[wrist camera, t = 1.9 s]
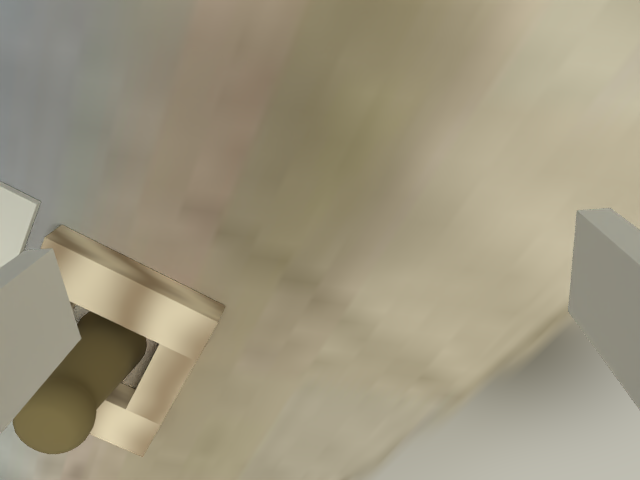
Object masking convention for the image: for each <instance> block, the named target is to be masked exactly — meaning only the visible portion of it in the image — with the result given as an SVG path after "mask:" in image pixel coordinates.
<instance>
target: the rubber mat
mask: <svg viewBox="0 0 640 480" xmlns="http://www.w3.org/2000/svg"><path fill="white" fill-rule="evenodd" d="M40 203H41V202H40V201H38V200H36V199H34V198H32V197H30V196H28V195H26V194H24V193H22V192H20V191H18V190H16V189H14V188H12V187H10V186H8V185H6V184H4V183H2V182H0V268H1V267H2V266H4V265H5V264H6V263H8V262H9V261H11V260H12V259H13V258H15V257H16V256H18V255H19V254H20V253H22V252H23V251H24V248H25V245H26V243H27V240H28V237H29V234H30V231H31V228H32V226H33V223H34V220H35V217H36V214H37V212H38V209H39V206H40Z"/></svg>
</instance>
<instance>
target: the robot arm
mask: <svg viewBox="0 0 640 480" xmlns="http://www.w3.org/2000/svg"><path fill="white" fill-rule="evenodd" d="M568 312H569V313H570V315H571V316H572V318H573V319H574V320H575V322H576V323H577V324H578V326H579V327H580V329H581V330H582V331H583V333H584V334H585V335H586V337H587V338H588V340H589V341H590V342H591V344H592V345H593V346H594V348H595V349H596V350H597V352H598V353H599V355H600V356H601V357H602V359H603V360H604V361H605V363H606V364H607V366H608V367H609V368H610V370H611V371H612V373H613V374H614V375H615V377H616V378H617V379H618V381H619V382H620V384H621V385H622V386H623V388H624V389H625V390H626V392H627V393H628V395H629V396H630V397H631V399H632V400H633V401H634V403H635V404H636V405H637V407H638V408H639V410H640V230H639V229H638V228H637V227H635V226H634V225H633V224H631V223H630V222H629V221H627V220H626V219H625V218H623V217H622V216H621V215H619V214H618V213H617V212H615V211H614V210H613V209H611V208H603V209H589V210H577V214H576V226H575V237H574V249H573V260H572V272H571V283H570V295H569V306H568ZM80 339H81V336H80V333H79V330H78V326H77V323H76V320H75V317H74V314H73V311H72V307H71V304H70V301H69V298H68V295H67V292H66V288H65V285H64V282H63V279H62V276H61V272H60V269H59V266H58V263H57V260H56V257H55V253H54V250H53V248H49V249H35V250H25V251H23V252H22V253H20V254H19V255H18V256H16V257H15V258H13V259H12V260H11V261H9V262H8V263H6V264H5V265H4V266H2V267H1V268H0V434H1V433H2V432H3V431H4V429H5V428H6V427H7V426H8V425H9V424H10V422H11V421H12V420H13V419H14V418H15V416H16V415H17V414H18V413H19V412H20V410H21V409H22V408H23V407H24V406H25V405H26V403H27V402H28V401H29V400H30V399H31V397H32V396H33V395H34V394H35V393H36V392H37V390H38V389H39V388H40V387H41V386H42V384H43V383H44V382H45V381H46V380H47V379H48V377H49V376H50V375H51V374H52V373H53V371H54V370H55V369H56V368H57V367H58V366H59V364H60V363H61V362H62V361H63V360H64V358H65V357H66V356H67V355H68V354H69V352H70V351H71V350H72V349H73V348H74V347H75V345H76V344H77V343H78V342H79V341H80Z"/></svg>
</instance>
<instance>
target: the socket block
mask: <svg viewBox="0 0 640 480" xmlns="http://www.w3.org/2000/svg"><path fill="white" fill-rule="evenodd" d="M49 248H53V250H54V253H55V257H56V260H57V263H58V266H59V269H60V272H61V276H62V279H63V282H64V285H65V288H66V292H67V295H68V298H69V301H70V304H71V307H72V311H73V309H74V306H75V304H77V305H79V306H81V307H83V308H85V309H87V310H89V311H91V312H94V313H96V314H98V315H100V316H102V317H104V318H106V319H108V320H110V321H113V322H115V323H117V324H119V325H121V326H123V327H125V328H127V329H129V330H131V331H134V332H136V333H138V334H140V335H142V336H144V337H146V338H148V339H150V340H152V341H155V342H157V343H159V346H158V348H157V350H156V352H155V354H154V355H153V357H152V359H151V361H150V363H149V365H148V367H147V369H146V371H145V373H144V375H143V377H142V379H141V381H140V383H139V385H138V387H137V388H136V389H133V388H131V387H129V386H127V385H125V384H122V383H120V384H119V385H118V386H117V387H116V388H115V390H114V391H113V392H112V393H111V394H110V395H109V396H108V397H107V399H106V400H105V401H104V402H103V403H102V404H101V405H100V406H99V407H98V409H97V410H96V411H97V413H96V419H95V423H94V427H93V428H92V430H91V432H90V433H89V434H91V435H93V436H96V437H98V438H100V439H102V440H105V441H107V442H109V443H112V444H114V445H116V446H118V447H121V448H123V449H125V450H127V451H130V452H132V453H134V454H137V455H139V456H141V457H143V456H144V454H145V452H146V451H147V449H148V447H149V445H150V443H151V442H152V440H153V438H154V436H155V435H156V433H157V431H158V429H159V427H160V426H161V424H162V422H163V420H164V418H165V417H166V415H167V413H168V411H169V410H170V408H171V406H172V404H173V402H174V401H175V399H176V397H177V395H178V393H179V392H180V390H181V388H182V386H183V385H184V383H185V381H186V379H187V377H188V376H189V374H190V372H191V370H192V369H193V367H194V365H195V363H196V361H197V360H198V358H199V356H200V354H201V352H202V351H203V349H204V347H205V345H206V344H207V342H208V340H209V338H210V336H211V335H212V333H213V331H214V329H215V327H216V326H217V324H218V322H219V320H220V317H221V315H222V313H223V310H224V308H225V305H223V304H221V303H219V302H217V301H215V300H213V299H211V298H209V297H207V296H205V295H203V294H201V293H199V292H196V291H194V290H192V289H190V288H188V287H186V286H184V285H182V284H180V283H178V282H176V281H174V280H172V279H170V278H168V277H166V276H164V275H162V274H160V273H158V272H156V271H154V270H152V269H150V268H148V267H146V266H144V265H142V264H140V263H138V262H136V261H134V260H132V259H130V258H128V257H126V256H124V255H122V254H120V253H118V252H116V251H114V250H112V249H110V248H108V247H106V246H104V245H102V244H100V243H98V242H96V241H94V240H92V239H90V238H88V237H86V236H84V235H82V234H80V233H78V232H76V231H74V230H71V229H69V228H67V227H65V226H63V225H61V226H59V227H58V228H57V229H55V230H54V231H53V232H51V233H50V234H49V235H47V236H46V237H45V238H44V241H43V243H42V246H41V249H49Z"/></svg>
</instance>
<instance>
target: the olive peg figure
mask: <svg viewBox="0 0 640 480" xmlns="http://www.w3.org/2000/svg"><path fill="white" fill-rule="evenodd" d="M77 326H78V330H79V333H80V336H81V339H80V341H79V342H78V343H77V344H76V345H75V347H74V348H73V349H72V350H71V351H70V352H69V354H68V355H67V356H66V357H65V358H64V360H63V361H62V362H61V363H60V364H59V366H58V367H57V368H56V369H55V370H54V371H53V373H52V374H51V375H50V376H49V377H48V379H47V380H46V381H45V382H44V383H43V384H42V386H41V387H40V388H39V389H38V390H37V392H36V393H35V394H34V395H33V396H32V397H31V399H30V400H29V401H28V402H27V403H26V405H25V406H24V407H23V408H22V409H21V410H20V412H19V413H18V414H17V415H16V416H15V418H14V419H13V426H14V429H15V432H16V434H17V435H18V437H19V438H20V439H21V440H22V441H23V442H24V443H25V444H26V445H27V446H29V447H31V448H33V449H34V450H36V451H39V452H43V453H46V454H60V453H64V452H68V451H70V450H72V449H74V448H76V447H77V446H79V445H80V444H81V443H82V442H83V441H84V440H85V439H86V438H87V436H88V435H89V433H90V432H91V430H92V428H93V427H94V423H95V419H96V413H97V411H96V410H97V409H98V407H99V406H100V405H101V404H102V403H103V402H104V401H105V400H106V399H107V397H108V396H109V395H110V394H111V393H112V392H113V391H114V390H115V388H116V387H117V386H118V385H119V384H120V383H121V382H122V381H123V380H124V378H125V377H126V376H127V375H128V374H129V373H130V372H131V371H132V369H133V368H134V367H135V366H136V365H137V364H138V363H139V362H140V360H141V359H142V357H143V356H144V355H145V351H146V346H147V344H146V338H145V337H144V336H142V335H140V334H138V333H136V332H134V331H131V330H129V329H127V328H125V327H123V326H121V325H119V324H117V323H115V322H113V321H110V320H108V319H106V318H104V317H102V316H100V315H98V314H96V313H94V312H89V313H87V314H86V315H85V316H83V317H82V318H81V320H80V321H79V323H78V325H77Z"/></svg>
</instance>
